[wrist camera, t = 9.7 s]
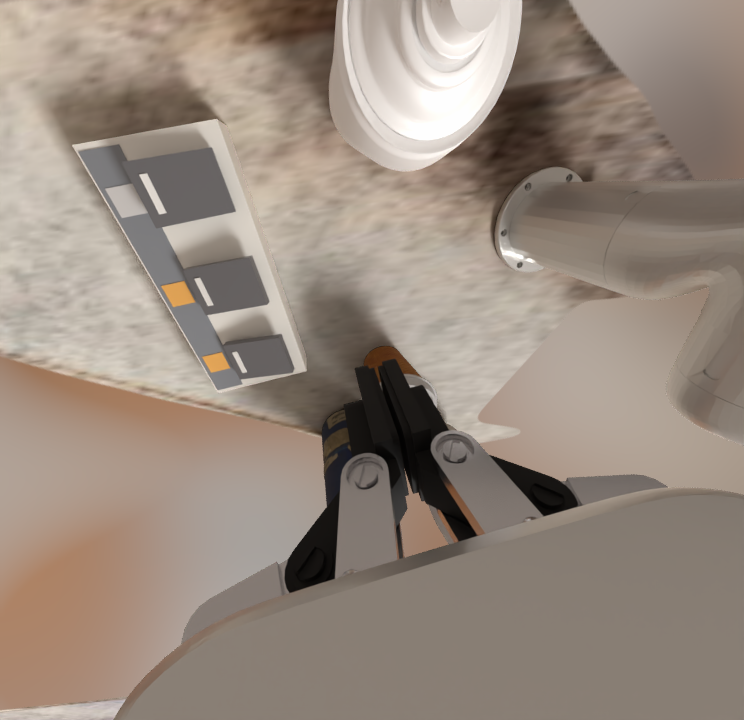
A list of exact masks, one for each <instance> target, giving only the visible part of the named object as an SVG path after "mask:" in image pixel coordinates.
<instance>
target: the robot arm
mask: <svg viewBox="0 0 744 720" xmlns="http://www.w3.org/2000/svg"><path fill="white" fill-rule="evenodd" d="M494 236H495V246H496V250H497V253H498V255H499V257H500V259H501V260H502V261H503V262H504V263H505V264H506V265H507V266H509V267H510V268H512V269H514V270H517V271H521V272H535V271H539V270H542V269H544V268H548V269H551V270H554V271H557V272H560V273H563V274H565V275H568V276H571V277H574V278H577V279H580V280H583V281H586V282H588V283H591V284H594V285H597V286H600V287H603V288H606V289H609V290H611V291H614V292H617V293H621V294H624V295H626V296H629V297H633V298H638V299H646V300H658V299H659V300H660V299H666V298H672V297H677V296H681V295H684V294H688V293H692V292H695V291H698V290H701V289H704V288H707V287H709V296H708V298H707V301H706V303H705V304H704V307H703V309H702V310H701V314H700V316H699V318H698V320H697V322H696V324H695V326H694V327H693V330H692V331H691V333H690V335H689V337H688V339H687V340H686V342H685V344H684V346H683V348H682V350H681V351H680V353H679V355H678V357H677V360H676V361H675V364H674V365H673V368H672V370H671V372H670V374H669V376H668V380H667V384H666V392H667V397H668V399H669V401H670V403H671V405H672V406H673V407H674V408H675V409H676V410H677V411H678V413H679V414H681V415H682V416H683V417H685V418H686V419H687V420H689V421H690V422H692V423H693V424H695V425H697V426H699V427H700V428H702V429H704V430H706V431H708V432H710V433H712V434H715V435H717V436H719V437H722V438H724V439H727V440H729V441H732V442H734V443H737V444H740V445H742V446H744V179H728V180H682V181H599V182H583V181H582V180H581V178H580V177H579V176H578V175H577V174H576V173H575V172H574V171H572V170H570V169H568V168H563V167H549V168H544V169H540V170H538V171H536V172H534V173H532V174H530V175H529V176H527V177H526V178H524V179H523V180H522V181H521V182H520V183H519V184H518V185H517V186H515V188H514V189H513V190H512V191H511V193H510V194H509V195H508V197H507V198H506V200H505V202H504V203H503V205H502V207H501V210H500V212H499V215H498V218H497V222H496V226H495V235H494ZM355 371H356V375H357V380H358V384H359V388H360V392H361V396H362V400H360V401H356V402H352V403H348V404H344V410H345V416H346V423H347V429H348V435H349V441H350V448H351V454H352V458H351V459H350V460H349V461H348V462H347V463H346V464H345V466H344V468H343V469H342V474H341V484H340V491H339V492H338V493H337V494H336V496H335V497H334V498H333V500H332V501H331V502H330V504H329V505H328V506H327V508H326V509H325V510H324V512H323V513H322V514H321V516H320V517H319V518H318V519H317V521H316V522H315V523H314V525H313V526H312V527H311V528H310V530H309V531H308V532H307V534H306V535H305V536H304V538H303V539H302V540H301V542H300V543H299V544H298V545H297V547H296V548H295V549H294V551H293V552H292V554H291V556H290V557H289V559H288V560H286V561H284V562H283V563H281V564H278V563H277V562H276V563H274V564H272V565H270V566H268V567H266V568H265V569H263V570H261V571H260V572H257V573H256V574H254V575H252V576H250V577H248V578H246V579H245V580H243V581H241V582H239V583H237V584H236V585H234V586H232V587H230V588H229V589H227V590H225V591H223V592H221V593H219V594H218V595H216V596H214V597H212V598H210V599H209V600H207V601H206V602H205V603H203V604H202V605H201V606H199V608H198V609H197V610H196V611H195V613H194V614H193V615H192V616H191V618H190V620H189V622H188V624H187V626H186V627H185V630H184V634H183V638H182V643H181V645H180V646H179V647H177V648H176V649H175V650H174V651H173V652H171V653H170V654H169V655H168V656H166V657H165V658H164V659H163V660H162V661H161V662H160V663H159V664H158V665H156V666H155V667H154V668H153V669H152V670H151V671H150V672H149V673H148V674H147V675H146V676H145V677H144V678H143V679H142V680H141V682H140V683H139V684H138V685H137V686H136V687H135V688H134V690H133V691H132V692H131V693H130V695H129V696H128V697H127V699H126V700H125V702H124V703H123V705H122V707H121V708H120V710H119V711H118V713H117V714H116V716H115V718H114V720H744V495H743V494H738V493H733V492H728V491H722V490H714V489H704V488H689V487H671V488H668V487H667V486H666V485H664V484H663V483H661V482H659V481H657V480H656V479H653V478H650V477H647V476H644V475H613V476H595V477H576V478H567V480H566V481H563V482H560V481H559V480H557V479H555V478H552V477H550V476H547V475H545V474H542V473H539V472H536V471H533V470H530V469H528V468H525V467H522V466H519V465H516V464H514V463H511V462H508V461H505V460H502V459H499V458H497V457H494V456H491V455H488V453H487V452H486V451H485V450H484V449H483V448H482V447H481V446H480V444H479V443H478V442H477V441H476V440H475V439H474V438H473V437H472V436H470V435H469V434H467V433H465V432H462V431H457V430H449V429H448V427H447V425H446V424H445V422H444V420H443V418H442V417H441V415H440V413H439V411H438V410H437V408H436V406H435V405H434V403H433V401H432V399H431V398H430V396H429V394H428V392H427V391H426V389H425V387H424V386H423V385H419V386H415V387H411V388H410V386H409V384H408V382H407V380H406V378H405V376H404V374H403V372H402V370H401V368H400V366H399V364H398V362H397V360H396V359H395V358H394V359H390V360H386V361H382V365H381V366H378V371H379V376H380V381H381V386H382V388H381V386H380V383H379V380H378V377H377V374H376V372H375V369H374V367H373V368H369V367H368V365H366V366H362V367H358V368H355ZM404 468H405V470H404ZM405 471H406V474H407V477H408V480H409V483H410V486H411V489H412V492H413V493H418V492H419V495H420V498H421V501H425V502H426V504H428V505H430V506H432V507H434V508H436V510H437V513H438V515H439V517H440V519H441V520H442V522H443V524H444V526H445V527H446V529H447V531H448V533H449V535H450V536H451V538H452V540H453V542H454V543H453V544H449V545H446V546H443V547H439V548H436V549H432V550H429V551H426V552H422V553H419V554H416V555H412V556H409V557H406V558H405V557H404V550H403V541H402V533H401V525H400V521H401V519H402V517H403V516H404V514H405V512H406V510H407V504H406V498H405V496H407V495H408V494H409V493H408V487H407V481H406V476H405Z"/></svg>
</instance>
